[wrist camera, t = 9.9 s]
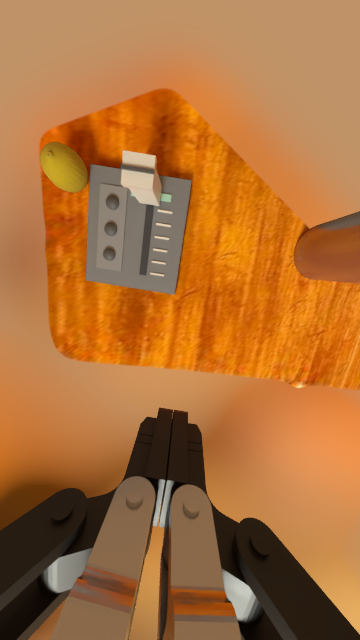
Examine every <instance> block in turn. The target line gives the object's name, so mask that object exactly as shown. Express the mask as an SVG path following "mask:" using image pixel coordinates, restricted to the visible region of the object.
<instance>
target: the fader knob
mask: <svg viewBox="0 0 360 640" xmlns="http://www.w3.org/2000/svg"><path fill="white" fill-rule="evenodd" d="M156 166H157V158H156V156H154V155H148V154H142V153H136V152H130V151H124V150H123V160H122V164H121V169H122V174H121V185H122V186H123V187H126V188H129V189H130V191H131V192H132V193H133V195H134V196H135V197H136V199H137V200H138V202H139V203H142V204H149V205H155V206H160V198H161V190H162V185H161V182H160V179H159V176H158V173H157V170H156Z"/></svg>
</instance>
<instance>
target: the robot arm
mask: <svg viewBox="0 0 360 640" xmlns="http://www.w3.org/2000/svg"><path fill="white" fill-rule="evenodd" d="M294 261H295V265H296V267H297V269H298V271H299V272H300V273H301V274H302V275H303V276H305V277H307V278H309V279H314V280H324V281H334V282H346V283H357V284H360V211H359V212H357V213H354V214H351V215H347V216H345V217H342V218H338V219H336V220H333V221H329V222H326V223H323V224H320V225H317V226H315V227H313V228H311V229H309V230H308V231H307V232H305V233H304V234H303V235H302V237H301V238H300V239H299V241H298V243H297V245H296V248H295V252H294ZM172 413H173V418H172ZM161 501H162V502H161ZM160 507H161V511H160ZM159 512H160V520H159V527H164V538H163V547H162V552H161V561H160V586H159V609H158V610H159V611H158V633H157V640H360V635H359V633H358V632H357V631H356V630H355V629H354V627H353V626H352V625H351V624H350V623H349V621H348V620H347V619H346V618H345V617H344V616H343V615H342V613H341V612H340V611H339V610H338V608H337V607H336V606H335V605H334V604H333V603H332V601H331V600H330V599H329V598H328V597H327V596H326V594H325V593H324V592H323V591H322V590H321V588H320V587H319V586H318V585H317V584H316V583H315V581H314V580H313V579H312V578H311V577H310V575H308V573H307V572H306V571H305V569H304V568H303V567H302V566H301V565H300V564H299V562H298V561H297V560H296V559H295V558H294V556H293V555H292V554H291V553H290V552H289V551H288V549H287V548H286V547H285V546H284V545H283V544H282V542H281V541H280V540H279V539H278V538H277V536H276V535H275V534H274V533H273V532H272V531H271V529H270V528H269V527H268V526H267V525H265V524H264V523H263V522H261V521H260V520H257V519H255V518H245V519H243V520H242V521H241V522H240V523H238V522H236V521H234V520H232V519H230V518H229V517H227V516H225V515H224V514H222V513H221V512H219V511H218V510H217V509H216V508H215V507H214V506H213V504H212V503H211V501H210V499H209V497H208V495H207V492H206V485H205V472H204V459H203V447H202V435H201V432H200V430H199V428H198V426H197V425H195V424H189V423H188V412H184V411H178V410H174V412H173V410H171V409H165V408H159V412H158V416H157V418H152V417H146V419H145V420H144V421H143V422H142V423H141V424H140V428H139V431H138V435H137V438H136V441H135V444H134V448H133V451H132V454H131V457H130V461H129V464H128V467H127V470H126V474H125V476H124V479H123V480H122V482H121V483H120V485H119V486H118V487H117V488H115V489H114V490H113V491H111V492H109V493H107V494H104V495H101V496H97V497H91V498H86V496H85V494H84V493H83V492H82V491H81V490H79V489H75V488H68V489H64V490H61V491H59V492H57V493H55V494H54V495H52V496H51V497H49V498H48V499H46V500H45V501H43V502H42V503H40V504H39V505H37V506H36V507H35V508H33V509H32V510H30V511H29V512H27V513H26V514H24V515H23V516H21V517H20V518H18V519H17V520H15V521H14V522H13V523H11V524H9V525H8V526H7V527H5V528H4V529H2V530H1V531H0V640H28V639H29V638H30V636H31V635H32V634H33V633H34V632H35V631H36V630H37V629H38V628H39V627H40V625H42V623H43V622H44V621H45V620H46V619H47V618H48V617H49V616H50V615H51V614H52V613H53V612H54V611H55V610H56V608H57V607H58V606H59V605H60V604H61V603H62V602H63V601H64V600H65V599H66V598H67V600H66V602H65V604H64V607H63V609H62V611H61V614H60V616H59V619H58V621H57V624H56V626H55V629H54V631H53V633H52V635H51V638H50V640H129V635H130V631H131V626H132V621H133V616H134V611H135V606H136V600H137V596H138V591H139V586H140V582H141V576H142V572H143V567H144V562H145V557H146V554H147V552H148V549H149V545H150V539H151V533H152V527H153V526H157V523H158V517H159Z"/></svg>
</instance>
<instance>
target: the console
mask: <svg viewBox="0 0 360 640" xmlns="http://www.w3.org/2000/svg"><path fill="white" fill-rule="evenodd" d="M121 174H122V169H118V168H112V167H106V166H100V165H93V164H90V183H89V211H88V238H87V266H86V280H88V281H94V282H100V283H106V284H112V285H118V286H125V287H131V288H137V289H143V290H149V291H156V292H162V293H168V294H174V295H175V292H176V285H177V279H178V272H179V265H180V259H181V252H182V245H183V239H184V232H185V225H186V219H187V212H188V205H189V199H190V192H191V185H192V180H186V179H180V178H173V177H167V176H161V175H158V176H159V179H160V182H161V185H162V190H161V198H160V206H155V205H149V204H142V203H139V202H138V200H137V199H136V197H135V196H134V195H133V193H132V192H131V191H130V189H129V188H126V187H123V186H122V185H121Z"/></svg>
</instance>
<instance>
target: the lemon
mask: <svg viewBox="0 0 360 640" xmlns="http://www.w3.org/2000/svg"><path fill="white" fill-rule="evenodd" d="M40 161H41V166H42V168H43V170H44V172H45V174H46V175H47V177H48V178H49V179H50V180H51V181H52V182H53V183H54V184H55V185H56V186H57V187H59V188H60V189H62V190H64V191H67V192H72V193H73V192H79V191H81V190H83V189H84V188H85V186H86V184H87V182H88V172H87V168H86V166H85V164H84V162H83V160H82V159H81V157H80V156H79V155H78V154H77V153H76V152H75V151H74V150H73V149H71V148H70V147H68V146H67V145H64V144H62V143H59V142H51V143H48V144H46V145H45V146H44V147H43V149H42V151H41V154H40Z"/></svg>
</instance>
